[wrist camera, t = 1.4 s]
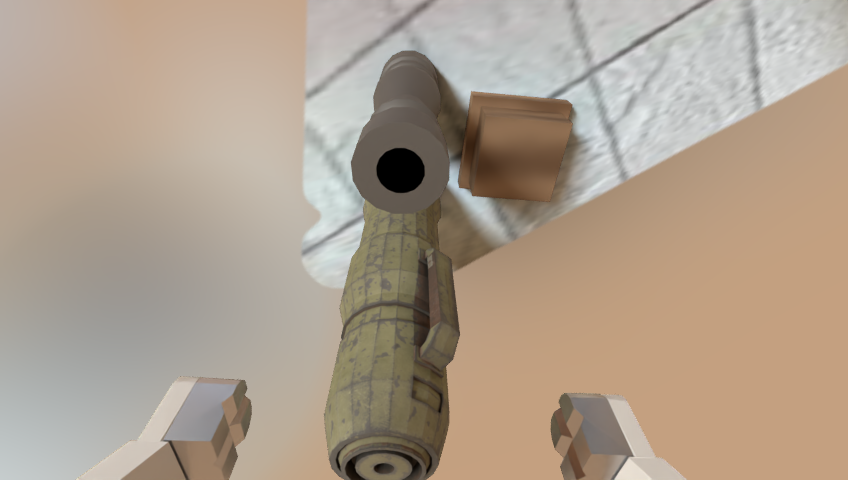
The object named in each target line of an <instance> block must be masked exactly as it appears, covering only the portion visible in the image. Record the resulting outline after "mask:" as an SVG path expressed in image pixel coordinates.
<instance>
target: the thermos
mask: <svg viewBox="0 0 848 480" xmlns="http://www.w3.org/2000/svg"><path fill="white" fill-rule="evenodd" d="M363 213H364V220H365V225H364V229H363V234H362V238H361V242H360V247H359V248H358V250H357V251H356V252H355V254H354V255H353V257H352V259H351V263H350V267H349V271H348V275H347V279H346V283H345V288H344V292H343V296H342V300H341V304H340V313H341V317H342V323H343V331H342V335H341V338H342V341H341V342H340V346H339V350H338V354H337V358H336V363H335V368H334V372H333V377H332V381H331V386H330V390H329V395H328V399H327V404H326V409H325V413H324V420H325V431H326V439H327V447H328V454H329V461H330V464H331V467H332V469H333V470H334V472H335V473H336V474H337V475H338V476H339V477H341V478H343V479H344V480H426V479H427V478H429V477H430V476H431V475H433V474H434V472H435V470H436V468H437V467H438V465H439V461H440V457H441V454H442V450H443V446H444V443H445V439H446V435H447V431H448V426H449V402H448V386H447V374H446V373H447V372H446V366H447V365H448V364H449V363H450V362H451V361H452V360H453V357H454V354H455V350H456V347H457V343H458V339H459V336H460V331H459V323H458V314H457V307H456V298H455V290H454V281H453V272H452V263H451V259H450V258H449V257H447V256H446V255H445V254H443V253H442V252H440V251H439V241H438V228H437V223H438V221H439V219H440V218H441V206H440V197H439V198H438V199H437V200H436V201H435V202H434V203H433V204H431V205H430V206H429V207H428V208H425V209H423V210H420V211H417V212H414V213H412V214H392V213H389V212H386V211H384V210H381V209H378V208H376V207H374V206H373V205H372V204H371V203H369V202H368V201H367V200H366V199H365V203H364V207H363Z"/></svg>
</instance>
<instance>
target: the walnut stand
mask: <svg viewBox="0 0 848 480" xmlns="http://www.w3.org/2000/svg"><path fill="white" fill-rule="evenodd" d="M571 108H572V104H571V103H570V102H568V101H567V100H560V99H549V98H538V97H527V96H516V95H505V94H494V93H483V92H472V91H471V96H470V103H469V110H468V116H467V123H466V130H465V137H464V144H463V150H462V157H461V164H460V171H459V177H458V184H459V188H467V189H471V193H472V196H480V197H493V198H506V199H519V200H533V201H546V202H550V199H551V196H552V193H553V189H554V186H555V182H556V179H557V176H558V172H559V169H560V166H561V162H562V159H563V155H564V152H565V149H566V145H567V142H568V139H569V135H570V132H571V128H572V125H573V123H571V122H570V121H569V120H568V118H569V115H570V111H571Z"/></svg>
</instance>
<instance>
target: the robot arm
mask: <svg viewBox="0 0 848 480" xmlns="http://www.w3.org/2000/svg"><path fill="white" fill-rule="evenodd" d="M246 391H247V386H246V382H245V380H234V379H217V378H203V377H181V376H180V377H179V378H178V379H177V380H176V381H175V382H173V384H172V385H171V387H170V389H169V390H168V392H167V393H166V395H165V397H164V398H163V400H162V402H161V403H160V405H159V406H158V408H157V409H156V411H155V412H154V414H153V416H152V417H151V419H150V420H149V422H148V424H147V425H146V427H145V428H144V430H143V432H142V433H141V435H140V436H139V438H138V440H130V441H129V442H127V443H126V444H124V445H123V446H122V447H120V448H119V449H118V450H116V451H115V452H113V453H112V454H111V455H109V456H108V457H107V458H105V459H104V460H102V461H101V462H99V463H98V464H97V465H95V466H94V467H93V468H91V469H90V470H88V471H87V472H86V473H84V474H83V475H82V476H80V477H79V478H77V479H76V480H229V478H230V475H231V473H232V470H233V467H234V465H235V462H236V460H237V457H238V456H237V452H236V449H235V447H236V446H237V445H238V444H239V443H240V442H241V441H242V440H244V439H245V436H246V434H247V431H248V428H249V425H250V420H251V415H252V412H251V411H252V410H251V409H252V408H251V407H252V406H251V402H250V399H248V398H247V397H246V396H245V393H246ZM559 404H560V407H561V408H559V409H558V410H556V411H555V412H554V414H553V416H552V419H551V435H552V440H553V444H554V448H555V450H556V451H557V452H558V453H559V454H560V455H561V456H562V457H563V461H562V464H561V466H560V467H561V471H562V474H563V477H564V480H687V479H686V478H684V477H683V476H682V475H681V474H680V473H679V472H678V471H676V470H675V469H674V468H673V467H672V466H671V465H670V464H668V463H667V462H666V461H665V460H664V459H663V458H657V457H656V456H655V454H654V452H653V450H652V449H651V447H650V445H649V443H648V441H647V439H646V437H645V435H644V433H643V431H642V429H641V427H640V425H639V424H638V422H637V420H636V418H635V416H634V414H633V412H632V410H631V408H630V406H629V404H628V402H627V400H626V399H625V398H624V397H623V396H621V395H601V394H585V393H584V394H583V393H564V394H563V395H561V397H560V400H559Z"/></svg>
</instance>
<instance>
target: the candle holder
mask: <svg viewBox="0 0 848 480" xmlns="http://www.w3.org/2000/svg"><path fill="white" fill-rule="evenodd" d="M373 99H374V111H375V112H374V113H373V114H372V116H371V119H370V121H369V122H368V123H367V124H366V125H365V126H364V127H363V130H362V133H361V135H360V138H359V140H358V143H357V146H356V149H355V152H354V155H353V158H352V161H351V167H352V176H353V181H354V183H355V185H356V187H357V189H358V190H359V192H360V194H361V196H362V197H363V198H365V199H366V200H367V201H368V202H369V203H371V204H372V205H373V206H374V207H376V208H378V209H381V210H384V211H386V212H389V213H392V214H412V213H414V212H417V211H420V210H423V209H425V208H428V207H429V206H430V205H431V204H433V203H434V202H435V201H436V200H437V199H438V198H439V197H440V196H441V195H442V193H443V191H444V189H445V187H446V185H447V183H448V181H449V164H450V161H449V156H448V150H447V144H446V141H445V139H444V136H443V133H442V131H441V128H440V126H439V124H438V121H437V117H438V114H439V112H440V105H441V95H440V92H439V90H438V78H437V74H436V71H435V69H434V66H433V64H432V63H431V62H430V61H429V59H428V58H427V57H426V56H425V55H423V54H421V53H418V52H416V51H401V52H399V53H397V54H395V55H393V56H392V57H391V58H390V59H389V60H388V62H387V63H386V64H385V66H384V68H383V71H382V74H381V77H380V80H379V82H378V84H377V87H376V90H375V93H374V96H373Z"/></svg>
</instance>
